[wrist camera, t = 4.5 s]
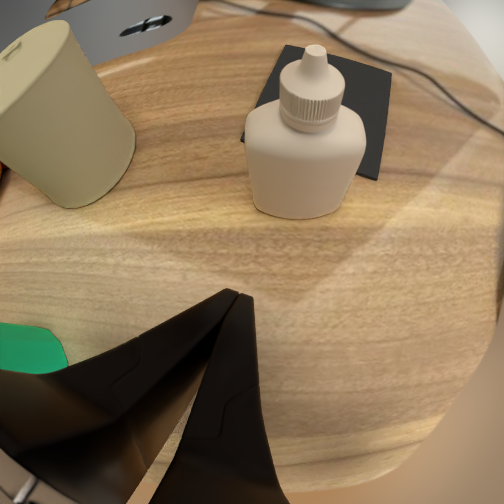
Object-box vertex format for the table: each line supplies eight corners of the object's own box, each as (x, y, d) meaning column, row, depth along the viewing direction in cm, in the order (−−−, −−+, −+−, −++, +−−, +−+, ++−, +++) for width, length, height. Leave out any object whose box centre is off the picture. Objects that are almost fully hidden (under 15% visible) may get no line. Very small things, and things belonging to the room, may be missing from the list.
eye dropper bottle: (275, 153, 21) (271, 5, 9) (348, 189, 20) (407, 53, 8) (242, 203, 20) (207, 62, 9) (320, 244, 19) (376, 125, 8)
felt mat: (376, 181, 20) (377, 179, 20) (240, 141, 21) (240, 139, 21) (390, 75, 23) (391, 72, 22) (285, 46, 24) (285, 44, 24)
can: (123, 98, 24) (66, -1, 12) (149, 171, 21) (67, 53, 10) (42, 149, 23) (-33, 75, 12) (52, 229, 21) (-58, 161, 9)
